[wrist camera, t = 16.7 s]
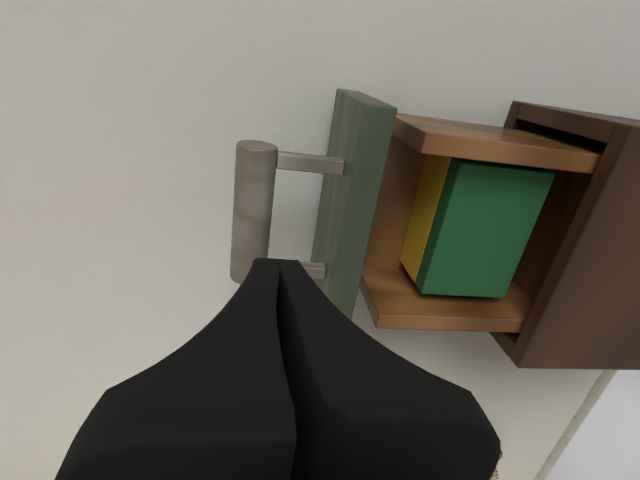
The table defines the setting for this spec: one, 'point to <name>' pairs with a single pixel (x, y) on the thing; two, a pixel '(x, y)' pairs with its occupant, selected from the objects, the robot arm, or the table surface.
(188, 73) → the table surface
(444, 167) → the sponge
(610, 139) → the cabinet
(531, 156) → the drawer
